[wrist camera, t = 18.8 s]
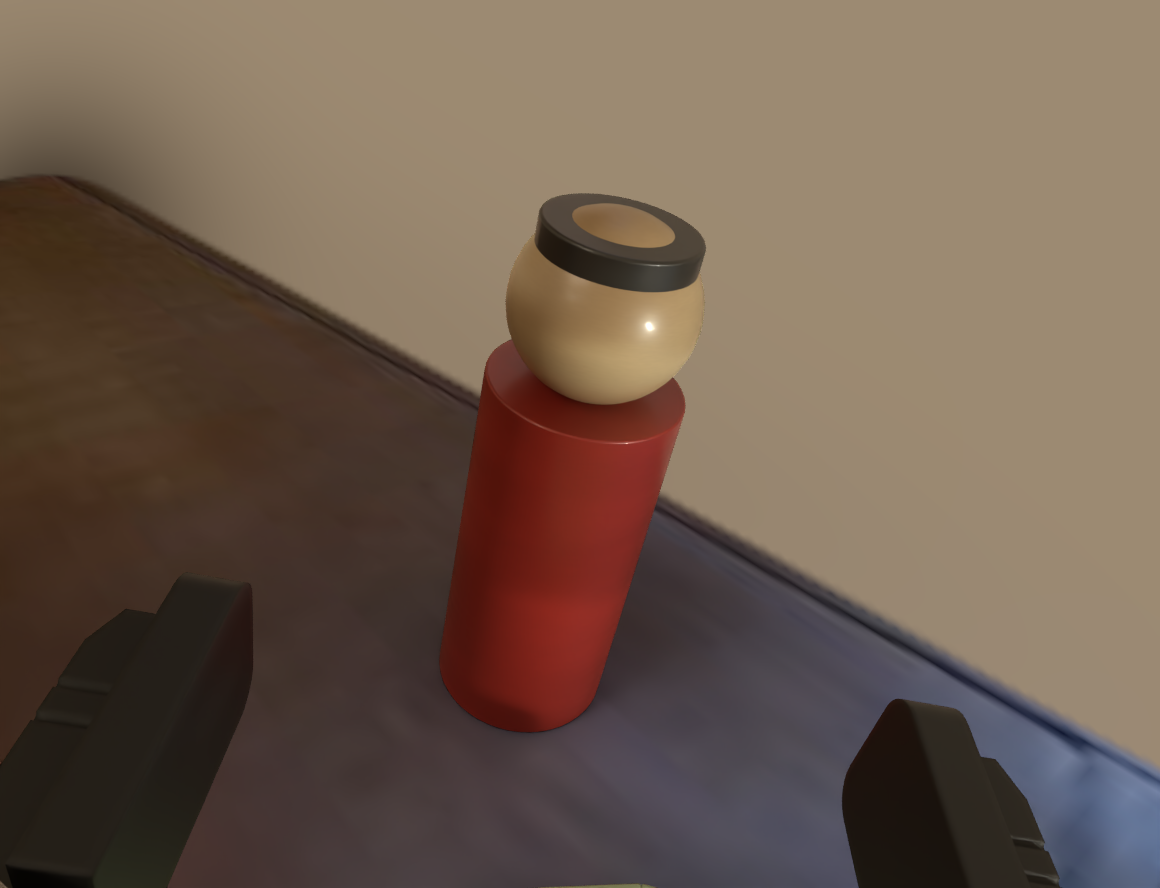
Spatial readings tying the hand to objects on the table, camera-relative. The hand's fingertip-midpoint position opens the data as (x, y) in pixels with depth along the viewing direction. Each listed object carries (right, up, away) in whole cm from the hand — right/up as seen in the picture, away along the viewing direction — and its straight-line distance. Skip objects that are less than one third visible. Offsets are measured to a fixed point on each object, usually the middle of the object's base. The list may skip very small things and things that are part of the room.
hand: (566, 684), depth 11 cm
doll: (-2, -4, +15) cm, 16 cm away
